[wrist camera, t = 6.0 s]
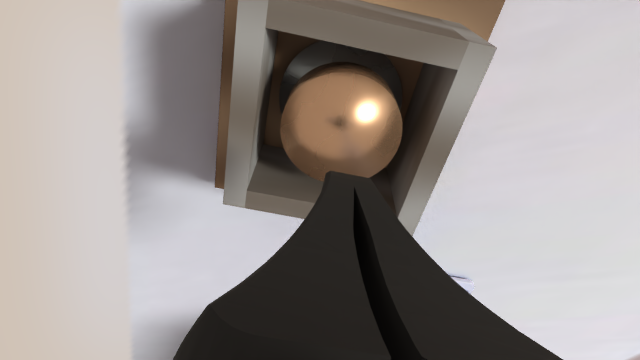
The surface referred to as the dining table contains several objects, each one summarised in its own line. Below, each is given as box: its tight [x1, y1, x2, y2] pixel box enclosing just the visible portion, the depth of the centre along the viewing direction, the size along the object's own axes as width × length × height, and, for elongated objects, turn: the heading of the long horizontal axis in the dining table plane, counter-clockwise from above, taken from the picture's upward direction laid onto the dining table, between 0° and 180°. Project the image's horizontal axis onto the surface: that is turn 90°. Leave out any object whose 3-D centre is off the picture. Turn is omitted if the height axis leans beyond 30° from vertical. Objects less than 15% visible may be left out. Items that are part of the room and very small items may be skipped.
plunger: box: [279, 40, 402, 182], centre depth 17 cm, size 6×6×4 cm
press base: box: [215, 0, 505, 236], centre depth 17 cm, size 14×12×6 cm
